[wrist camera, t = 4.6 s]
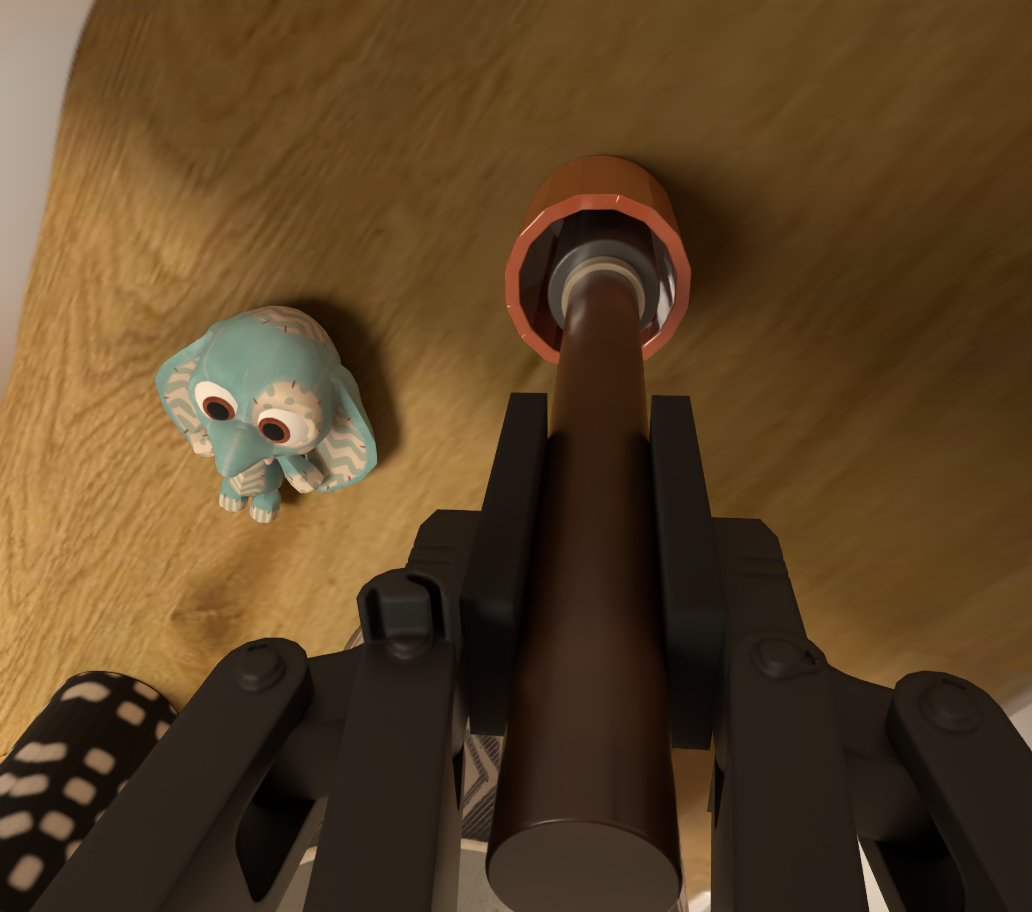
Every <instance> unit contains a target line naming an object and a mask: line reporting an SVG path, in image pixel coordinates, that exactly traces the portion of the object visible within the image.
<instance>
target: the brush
mask: <svg viewBox="0 0 1032 912" xmlns="http://www.w3.org/2000/svg"><path fill="white" fill-rule="evenodd" d="M547 295H548V304H549V308H550V311H551V314H552V316H553V318H554V320H555V321H556V323H557V324H558V326H559V327H560V328H561V329H562V330H563V336H562V343H561V350H560V357H559V363H558V370H557V377H556V384H555V391H554V397H553V404H552V411H551V418H550V425H549V431H548V441H547V447H546V454H545V461H544V468H543V475H542V482H541V488H540V495H539V502H538V509H537V516H536V523H535V529H534V536H533V543H532V550H531V557H530V564H529V570H528V577H527V584H526V591H525V598H524V605H523V611H522V618H521V625H520V632H519V639H518V645H517V652H516V659H515V664H514V669H513V676H512V682H511V689H510V696H509V703H508V710H507V716H506V723H505V730H504V737H503V744H502V750H501V757H500V764H499V771H498V778H497V784H496V791H495V798H494V805H493V811H492V818H491V825H490V832H489V839H488V845H487V852H486V859H485V871H486V877H487V880H488V883H489V885H490V887H491V889H492V891H493V892H494V894H495V895H496V896H497V898H498V899H499V900H500V901H501V902H502V903H503V904H504V905H505V906H506V907H507V908H509V909H510V910H512V911H513V912H670V911H671V910H672V908H673V907H674V906H675V904H676V903H677V901H678V899H679V897H680V894H681V891H682V887H683V872H682V859H681V846H680V833H679V820H678V807H677V794H676V781H675V768H674V755H673V742H672V729H671V716H670V703H669V690H668V677H667V671H666V661H665V648H664V634H663V621H662V608H661V595H660V582H659V568H658V555H657V542H656V529H655V516H654V502H653V489H652V476H651V463H650V450H649V431H648V418H647V406H646V393H645V380H644V367H643V354H642V341H641V332H642V331H643V330H644V329H645V328H646V327H647V325H648V324H649V323H650V322H651V320H652V318H653V317H654V315H655V312H656V310H657V307H658V303H659V297H660V286H659V279H658V272H657V266H656V259H655V253H654V246H653V239H652V234H651V231H650V228H649V227H648V226H647V225H646V223H645V222H643V221H641V220H638V219H636V218H633V217H631V216H629V215H626V214H624V213H622V212H619V211H617V210H581V211H578V212H576V213H574V214H571V215H570V216H569V217H568V219H567V220H566V222H565V223H564V225H563V227H562V229H561V231H560V234H559V238H558V242H557V247H556V252H555V256H554V261H553V265H552V270H551V274H550V279H549V284H548V293H547Z"/></svg>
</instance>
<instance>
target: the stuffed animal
mask: <svg viewBox="0 0 1032 912" xmlns="http://www.w3.org/2000/svg"><path fill="white" fill-rule="evenodd" d="M154 381H155V384H156V387H157V390H158V393H159V396H160V399H161V402H162V405H163V408H164V410H165V411H166V412H167V414H168V415H169V416H170V418H171V419H172V420H173V422H174V423H175V424H176V426H177V427H178V428H179V430H180V431H181V432H182V434H183V435H184V436H185V437H186V439H187V440H188V441H189V442H190V443H191V446H192V448H193V449H194V451H195V453H196V454H198V455H200V456H202V457H207V456H215V461H216V467H217V470H218V472H219V474H220V475H222V476H224V477H225V478H224V480H223V481H222V483H221V488H220V494H219V505H220V506H222V507H223V508H224V509H226V510H227V511H234V512H239V511H241V510H242V509H244V508H245V507H247V503H248V496H253V499H252V502H251V506H250V516H251V517H252V518H254V519H255V520H256V521H258V522H263V523H270V522H272V521H273V520H274V519H276V518H277V517H278V513H279V508H280V503H281V495H280V493H279V491H278V488H279V487H280V486H281V484H282V480H283V477H284V474H285V477H286V478H287V480H288V481H289V482H290V484H291V485H292V486H293V487H294V488H295V489H297V490H298V491H299V492H300V493H310V492H312V491H314V490H316V489H317V490H318V492H319V493H322V492H330V491H334V490H337V489H340V488H343V487H346V486H348V485H351V484H354V483H357V482H360V481H361V480H362V479H363V478H364V477H365V476H366V475H367V474H368V473H369V472H370V471H371V470H372V469H373V468H374V467H375V466H376V465H377V453H376V443H375V438H374V433H373V428H372V425H371V423H370V421H369V419H368V417H367V414H366V412H365V410H364V407H363V405H362V402H361V398H360V393H359V388H358V385H357V383H356V381H355V379H354V377H353V376H352V374H351V372H350V371H349V370H347V369H346V368H345V367H343V366H342V365H341V360H340V356H339V354H338V352H337V350H336V348H335V346H334V344H333V342H332V340H331V339H330V337H329V335H328V334H327V333H326V331H325V330H324V329H323V328H322V326H321V325H320V324H318V323H317V322H316V321H315V320H314V319H313V318H312V317H311V316H309V315H307V314H305V313H303V312H302V311H300V310H298V309H294V308H290V307H286V306H266V307H262V308H257V309H253V310H249V311H245V312H241V313H239V314H237V315H236V316H234V317H232V318H230V319H224V320H220V321H218V322H216V323H214V324H213V325H211V327H210V328H209V329H208V330H207V332H206V333H205V334H204V336H203V337H201V338H200V339H198V340H197V341H195V342H193V343H192V344H190V345H189V346H187V347H186V348H184V349H183V350H181V351H180V352H178V353H177V354H176V355H174V356H173V357H171V358H170V359H168V360H167V361H165V362H164V363H163V364H162V366H161V368H160V370H159V371H158V373H157V375H156V377H155V379H154ZM301 454H305V457H306V459H305V458H304V457H302V456H301Z"/></svg>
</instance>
